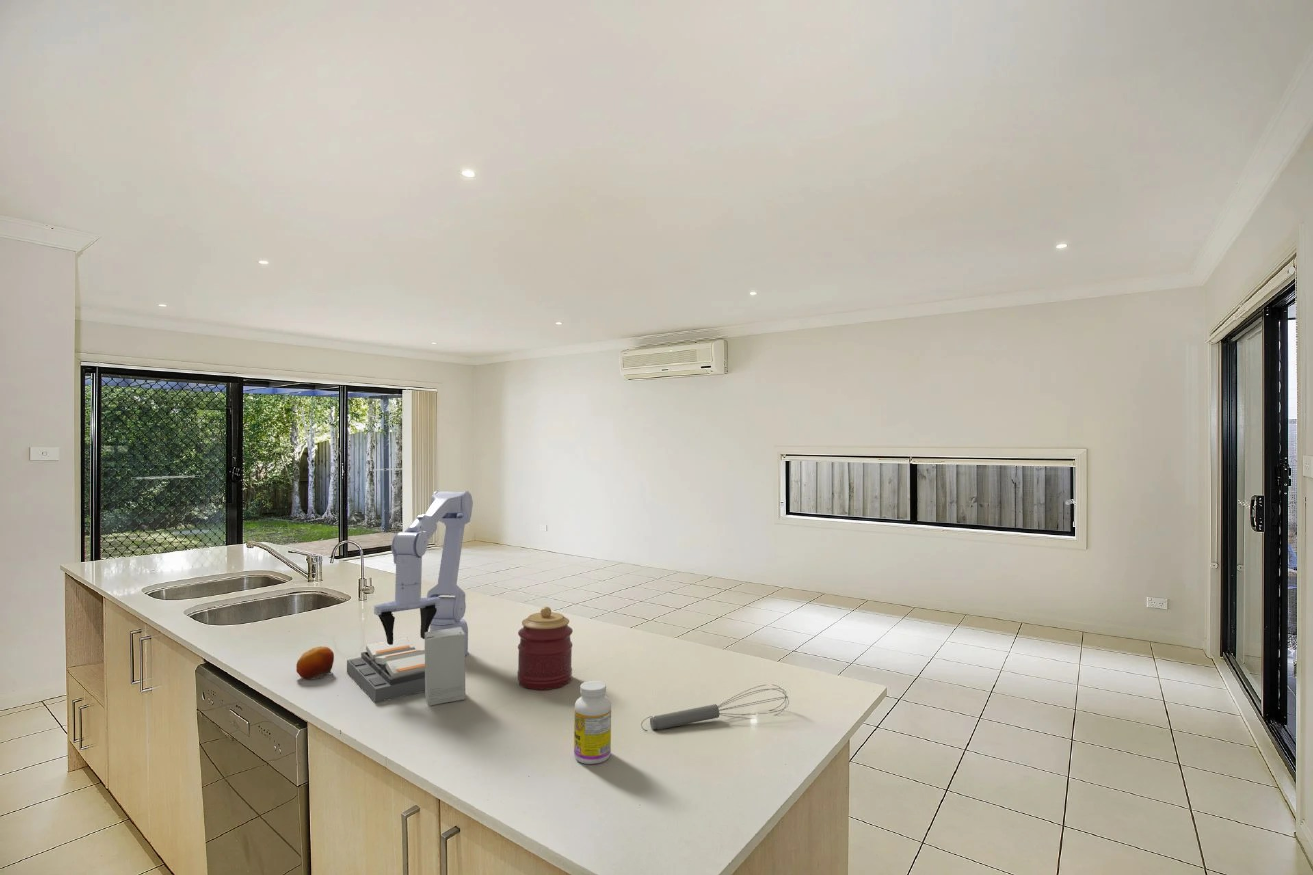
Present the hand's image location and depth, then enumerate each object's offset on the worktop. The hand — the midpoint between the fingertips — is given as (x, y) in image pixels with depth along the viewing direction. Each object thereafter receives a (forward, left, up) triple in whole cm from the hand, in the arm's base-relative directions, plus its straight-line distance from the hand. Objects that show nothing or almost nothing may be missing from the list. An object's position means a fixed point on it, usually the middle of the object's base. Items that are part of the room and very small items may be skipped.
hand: (407, 640), depth 145 cm
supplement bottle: (-15, +56, -10) cm, 59 cm away
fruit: (+15, -19, -10) cm, 26 cm away
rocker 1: (0, -13, -5) cm, 14 cm away
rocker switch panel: (+1, -7, -10) cm, 12 cm away
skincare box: (-4, +14, -10) cm, 18 cm away
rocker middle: (0, -5, -5) cm, 7 cm away
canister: (-27, +18, -10) cm, 34 cm away
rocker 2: (0, +3, -5) cm, 6 cm away
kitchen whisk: (-44, +60, -11) cm, 75 cm away
